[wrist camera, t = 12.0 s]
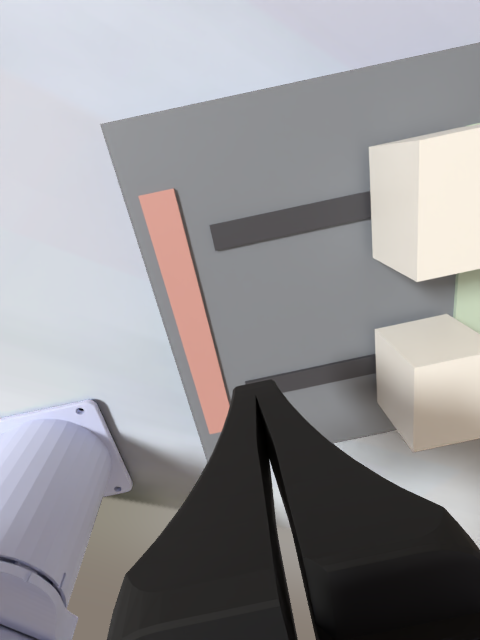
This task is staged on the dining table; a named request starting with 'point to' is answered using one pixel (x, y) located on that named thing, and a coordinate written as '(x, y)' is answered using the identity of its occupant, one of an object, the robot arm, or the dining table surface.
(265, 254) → the switch panel
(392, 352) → the switch
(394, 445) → the dining table surface
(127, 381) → the dining table surface
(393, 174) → the switch
